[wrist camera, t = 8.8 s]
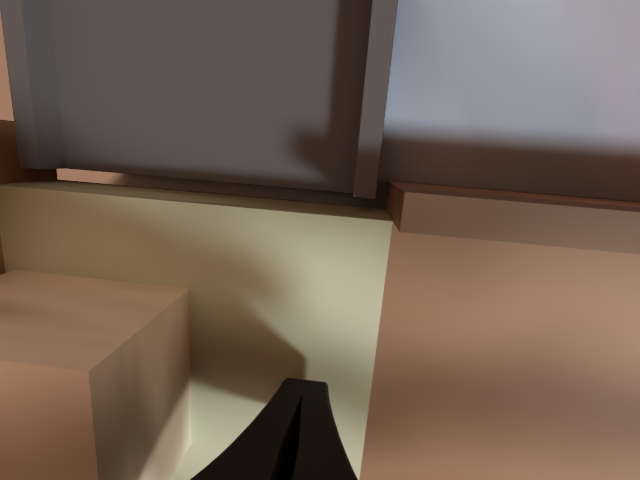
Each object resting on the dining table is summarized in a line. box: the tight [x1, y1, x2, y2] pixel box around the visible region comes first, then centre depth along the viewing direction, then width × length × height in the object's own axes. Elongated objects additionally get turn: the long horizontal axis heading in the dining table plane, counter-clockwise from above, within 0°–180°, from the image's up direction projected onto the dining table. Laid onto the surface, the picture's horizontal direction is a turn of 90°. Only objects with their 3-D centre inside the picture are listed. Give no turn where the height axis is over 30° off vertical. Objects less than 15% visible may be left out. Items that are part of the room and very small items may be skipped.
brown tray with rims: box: [0, 120, 640, 480], centre depth 12 cm, size 16×32×4 cm, turn 86°
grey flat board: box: [0, 0, 398, 199], centre depth 14 cm, size 29×12×2 cm, turn 176°
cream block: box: [0, 270, 191, 480], centre depth 10 cm, size 6×6×4 cm
